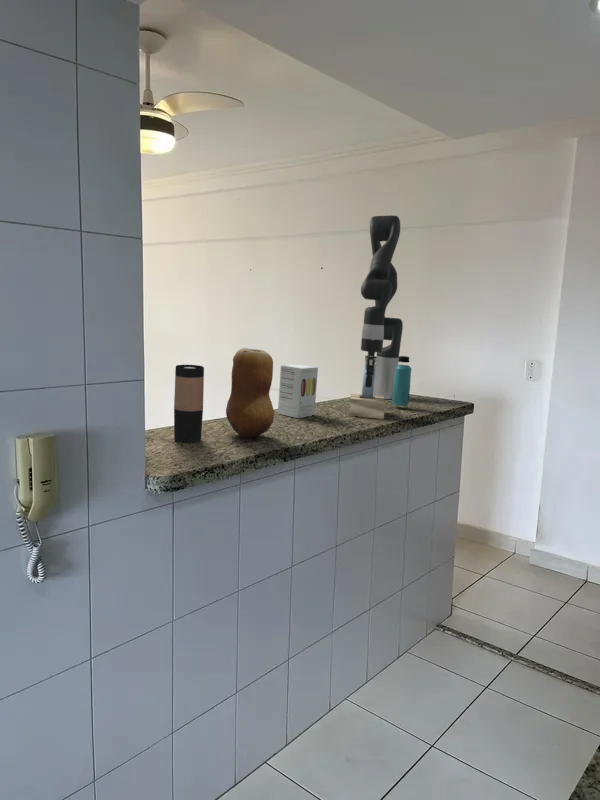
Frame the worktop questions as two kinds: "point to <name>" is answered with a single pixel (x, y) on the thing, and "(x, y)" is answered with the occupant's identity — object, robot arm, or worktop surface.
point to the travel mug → (188, 403)
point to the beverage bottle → (401, 383)
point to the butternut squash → (251, 393)
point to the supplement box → (297, 390)
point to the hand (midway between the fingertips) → (368, 385)
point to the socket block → (367, 406)
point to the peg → (368, 391)
